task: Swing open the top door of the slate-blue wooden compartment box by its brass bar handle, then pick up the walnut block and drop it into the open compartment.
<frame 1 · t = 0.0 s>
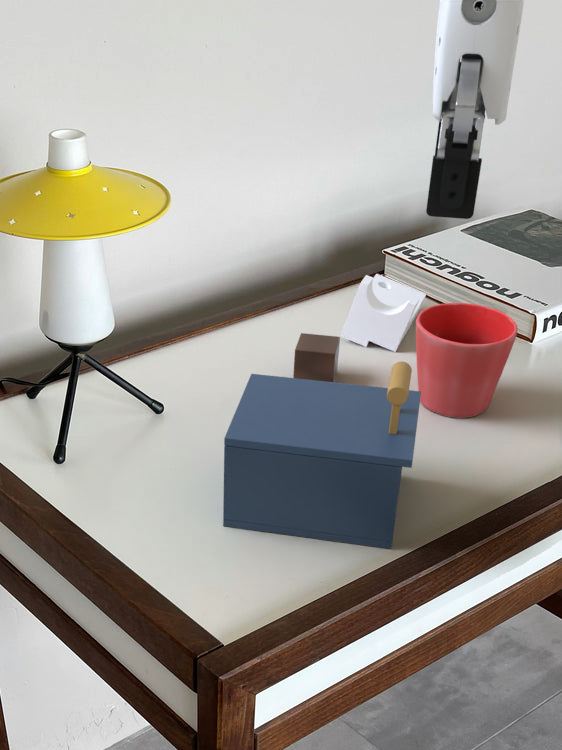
hand: (451, 194, 74), 32 cm above the table, tool pointing down, fingers open, 9 cm apart
block: (315, 378, 119), on the table
bracket: (386, 329, 130), on the table
chest: (315, 499, 98), on the table
lid: (327, 394, 92), point 12 cm above the table, hinge at 0.0°
flower pot: (453, 403, 114), on the table
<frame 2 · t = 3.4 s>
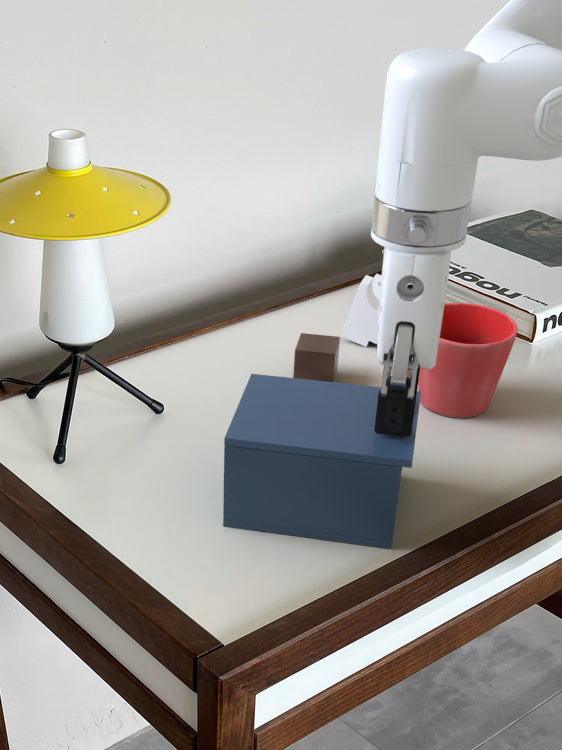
hand: (395, 415, 91), 10 cm above the table, tool pointing down, fingers closed on lid, 5 cm apart
lid: (327, 394, 92), point 12 cm above the table, hinge at 0.0°, touching gripper
everything else where it was.
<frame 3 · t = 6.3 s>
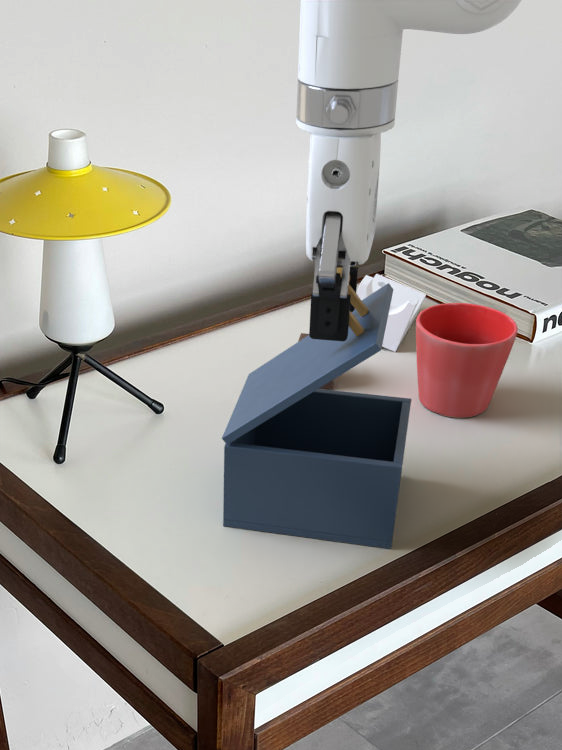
hand: (332, 322, 88), 19 cm above the table, tool pointing down, fingers closed on lid, 5 cm apart
lid: (292, 342, 90), point 16 cm above the table, hinge at 40.3°, touching gripper
everything else where it was.
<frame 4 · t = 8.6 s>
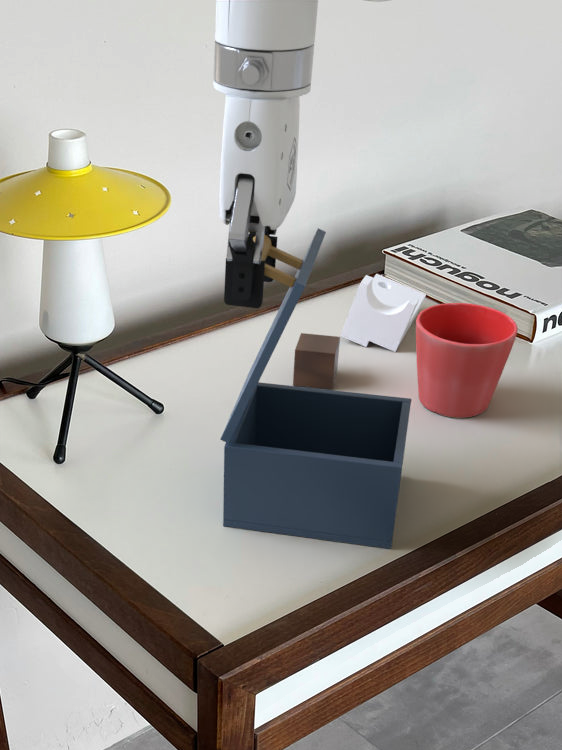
hand: (249, 289, 88), 21 cm above the table, tool pointing down, fingers closed on lid, 5 cm apart
lid: (248, 324, 90), point 18 cm above the table, hinge at 68.7°, touching gripper
everything else where it was.
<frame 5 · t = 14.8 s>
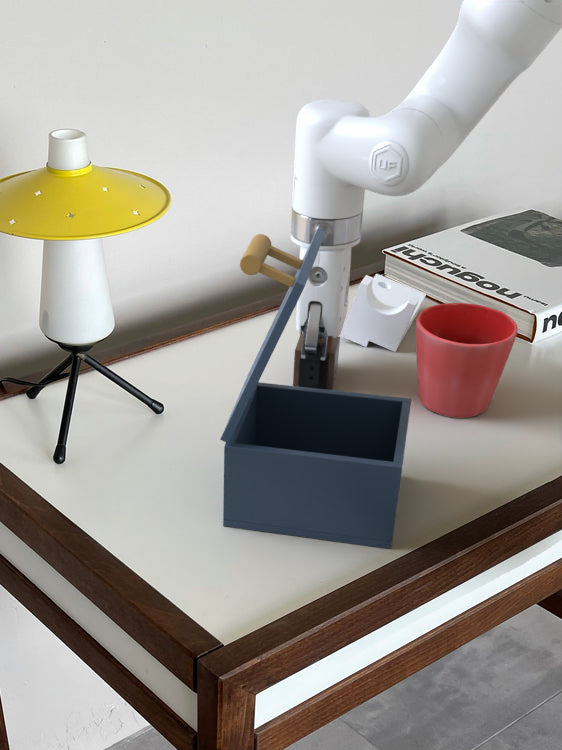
hand: (315, 375, 119), 0 cm above the table, tool pointing down, fingers closed on block, 4 cm apart
block: (315, 378, 119), on the table, touching gripper
lid: (248, 324, 90), point 18 cm above the table, hinge at 68.8°
everything else where it was.
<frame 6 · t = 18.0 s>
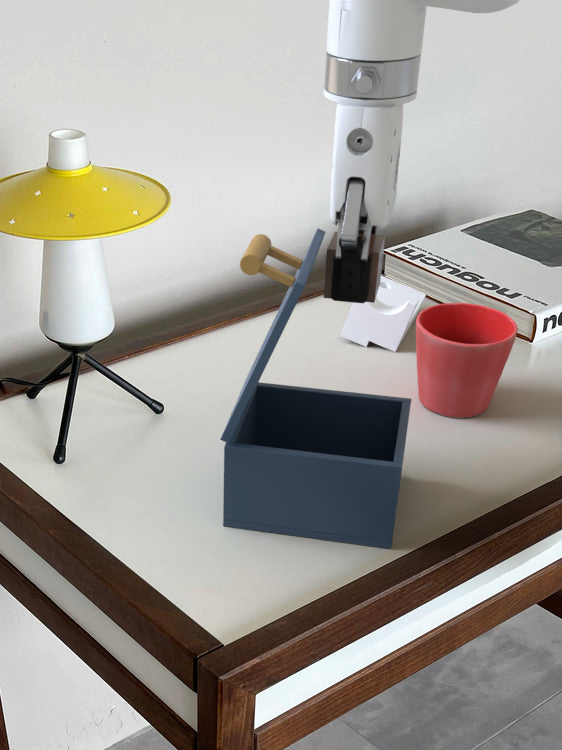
hand: (353, 287, 92), 19 cm above the table, tool pointing down, fingers closed on block, 4 cm apart
block: (352, 290, 93), point 19 cm above the table, touching gripper
everything else where it was.
when the fingers open (8 cm above the table, at t = 21.6 s): block drops 7 cm, resting on chest.
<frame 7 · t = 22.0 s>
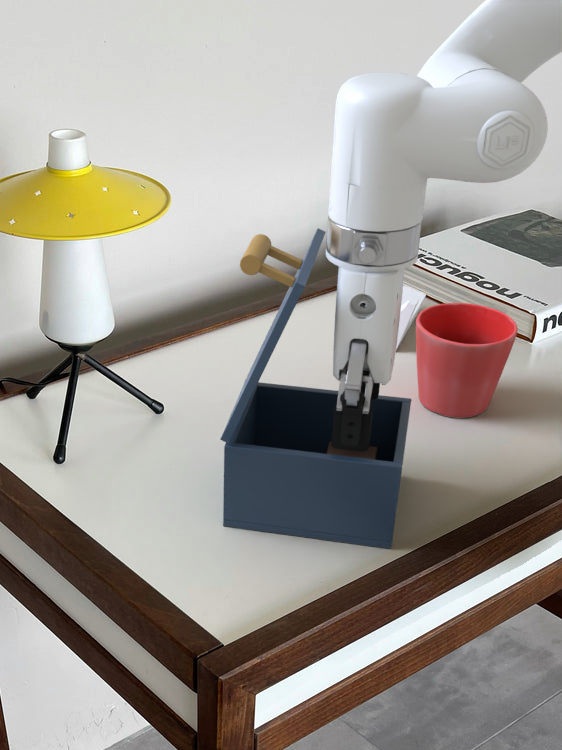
hand: (355, 421, 93), 9 cm above the table, tool pointing down, fingers open, 9 cm apart
block: (346, 496, 97), point 1 cm above the table, touching chest
everything else where it was.
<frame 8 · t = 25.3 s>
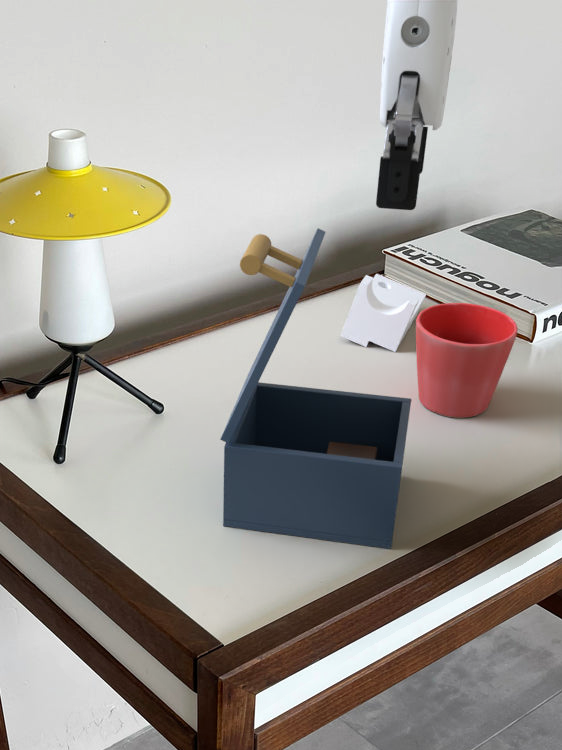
hand: (399, 189, 87), 28 cm above the table, tool pointing down, fingers open, 9 cm apart
nothing on the table moved.
at the end: lid at +69° (first picture: +0°); block inside the target area in the chest (3.0 cm from its centre), point 0.8 cm above the chest's base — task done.
